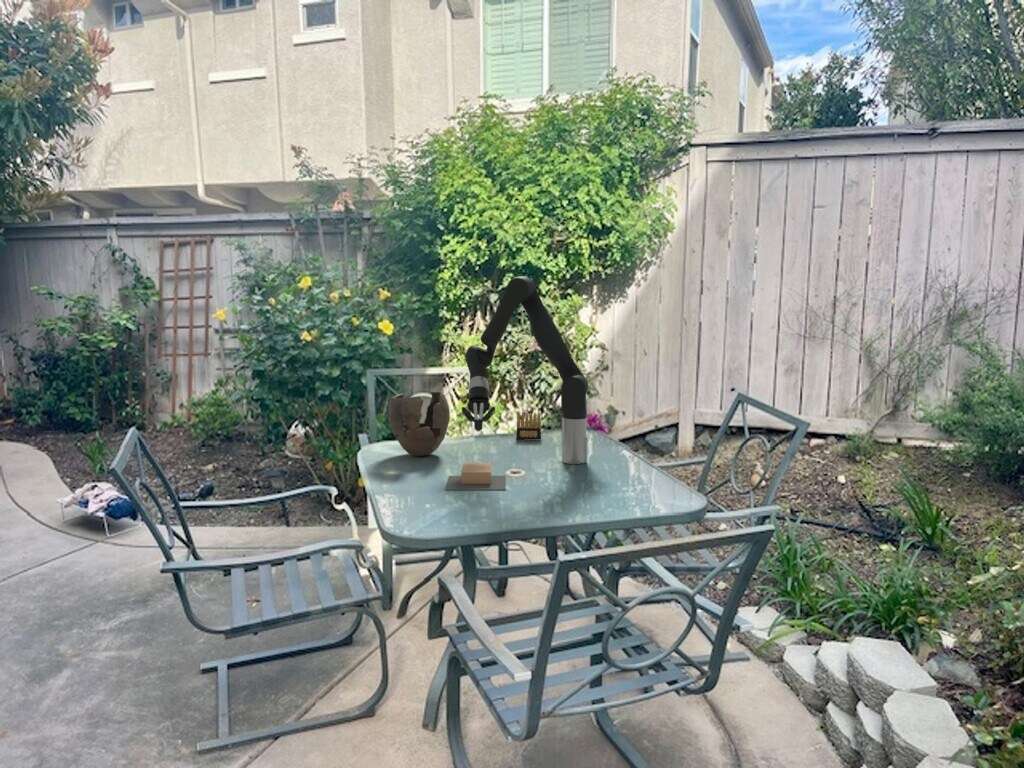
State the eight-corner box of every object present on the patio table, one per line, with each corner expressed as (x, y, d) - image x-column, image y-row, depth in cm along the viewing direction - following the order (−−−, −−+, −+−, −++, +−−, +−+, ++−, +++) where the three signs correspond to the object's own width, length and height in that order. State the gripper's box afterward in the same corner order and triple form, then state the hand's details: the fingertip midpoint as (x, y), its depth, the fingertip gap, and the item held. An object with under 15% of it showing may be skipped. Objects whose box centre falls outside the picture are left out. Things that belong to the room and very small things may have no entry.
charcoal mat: (505, 476, 250) (505, 475, 250) (505, 490, 234) (505, 489, 234) (448, 476, 250) (448, 475, 249) (445, 490, 234) (445, 489, 234)
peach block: (491, 462, 251) (490, 472, 239) (491, 474, 252) (490, 483, 240) (463, 462, 251) (461, 472, 239) (463, 474, 252) (461, 484, 240)
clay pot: (439, 464, 265) (438, 398, 261) (379, 460, 270) (377, 396, 266) (457, 448, 288) (456, 388, 284) (401, 445, 293) (399, 386, 289)
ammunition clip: (541, 439, 306) (541, 411, 304) (541, 440, 304) (541, 412, 302) (516, 438, 306) (516, 411, 304) (516, 439, 304) (516, 412, 303)
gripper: (460, 385, 262) (459, 424, 252) (496, 385, 263) (496, 424, 252) (461, 397, 268) (460, 435, 258) (496, 396, 269) (496, 435, 258)
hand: (478, 430), depth 255 cm, fingers closed
